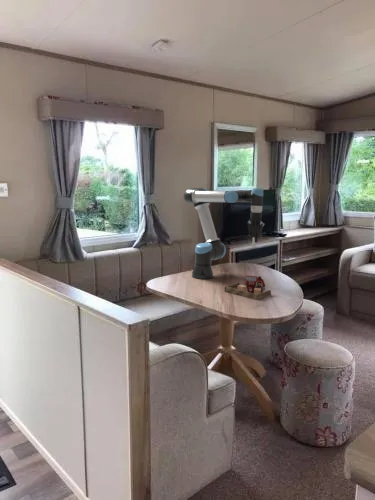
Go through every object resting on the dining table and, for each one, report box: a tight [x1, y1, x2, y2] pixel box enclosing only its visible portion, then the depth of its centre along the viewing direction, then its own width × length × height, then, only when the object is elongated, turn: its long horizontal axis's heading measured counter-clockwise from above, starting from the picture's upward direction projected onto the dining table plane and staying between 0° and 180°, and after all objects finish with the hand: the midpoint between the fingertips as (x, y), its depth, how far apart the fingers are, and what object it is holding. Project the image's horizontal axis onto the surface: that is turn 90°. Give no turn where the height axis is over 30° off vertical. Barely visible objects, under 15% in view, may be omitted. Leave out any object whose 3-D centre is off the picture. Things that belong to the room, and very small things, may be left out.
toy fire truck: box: [245, 275, 266, 293], centre depth 257 cm, size 7×12×10 cm, turn 79°
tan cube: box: [253, 288, 261, 294], centre depth 252 cm, size 4×4×4 cm
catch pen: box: [224, 282, 272, 301], centre depth 255 cm, size 24×15×3 cm, turn 49°
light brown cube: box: [236, 284, 247, 292], centre depth 257 cm, size 4×4×4 cm
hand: (253, 246), depth 278 cm, fingers closed
